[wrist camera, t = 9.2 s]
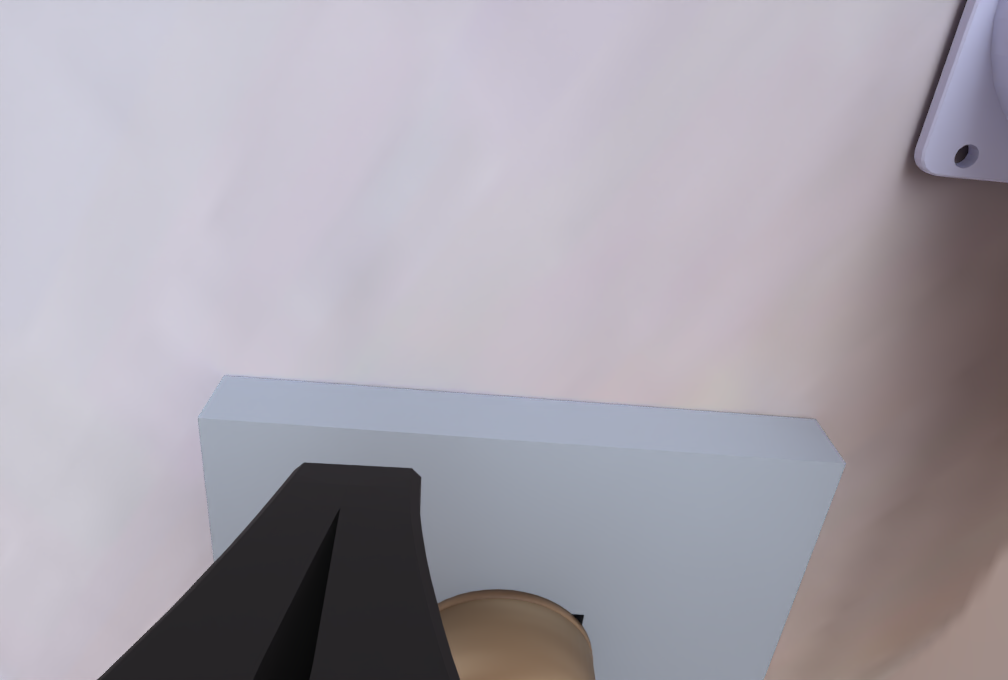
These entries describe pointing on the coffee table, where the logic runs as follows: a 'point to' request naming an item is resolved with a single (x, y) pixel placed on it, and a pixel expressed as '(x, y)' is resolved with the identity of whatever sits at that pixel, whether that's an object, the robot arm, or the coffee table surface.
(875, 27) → the coffee table surface
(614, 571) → the mortise board
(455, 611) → the oak peg
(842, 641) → the coffee table surface
